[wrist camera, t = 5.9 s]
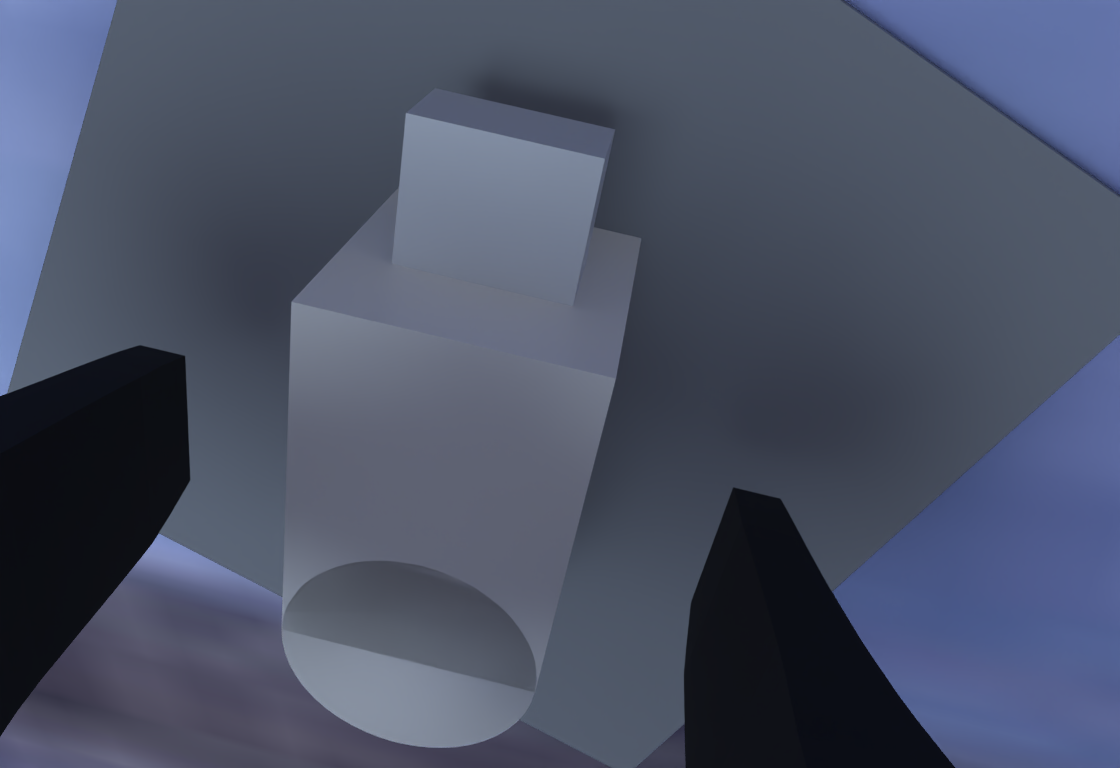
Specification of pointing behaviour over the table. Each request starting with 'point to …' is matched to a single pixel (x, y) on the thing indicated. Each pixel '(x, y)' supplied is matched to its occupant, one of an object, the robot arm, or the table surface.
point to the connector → (450, 422)
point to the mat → (658, 289)
